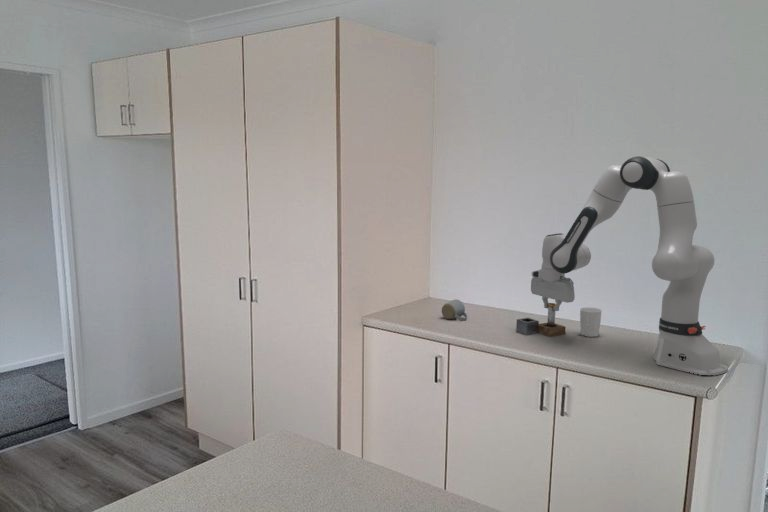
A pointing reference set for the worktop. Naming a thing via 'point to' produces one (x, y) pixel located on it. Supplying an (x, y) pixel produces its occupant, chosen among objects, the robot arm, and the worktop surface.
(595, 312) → the white cup
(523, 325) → the socket block
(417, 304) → the worktop surface
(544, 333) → the block
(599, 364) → the worktop surface
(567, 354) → the worktop surface
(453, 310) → the ceramic mug
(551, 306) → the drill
